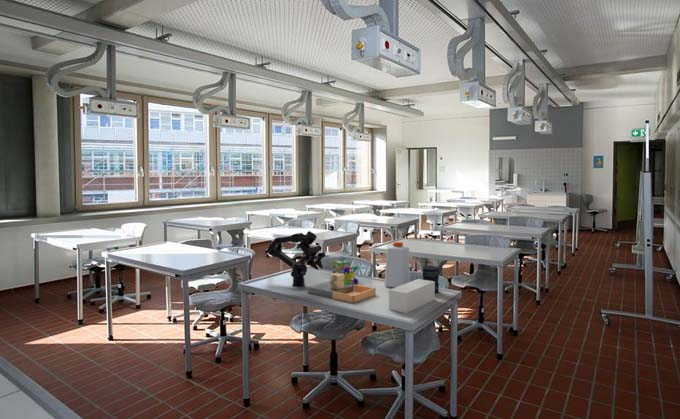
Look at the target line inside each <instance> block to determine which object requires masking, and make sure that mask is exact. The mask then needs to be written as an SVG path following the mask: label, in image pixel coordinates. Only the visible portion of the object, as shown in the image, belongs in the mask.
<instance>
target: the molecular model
mask: <svg viewBox="0 0 680 419" xmlns="http://www.w3.org/2000/svg"><path fill="white" fill-rule="evenodd" d="M349 269H350V270H349ZM358 269H359V267H358V266H357V265H355V266H353V267H350V268H349V267H348V266H346V267H345V268H344V272H343V273H342V274H345V272H347V273H348V274H349V275H344V276H349V278H348V279H346V278H345V277H344V284H348V285H349V283H354V284H358V283H359V280H358V278H356V277H355V272H356V271H357V270H358ZM351 270H352V271H351ZM351 279H352V280H351Z"/></svg>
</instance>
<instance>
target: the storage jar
mask: <svg viewBox="0 0 680 419" xmlns="http://www.w3.org/2000/svg"><path fill="white" fill-rule="evenodd" d="M439 269H440V267H439V266H436V265H435V266H434V265H425V266H422V280H428V281H434V282H435V294H439V288H440V286H439V285H440V283H439V277H440V276H439V274H440V272H439V271H440V270H439Z"/></svg>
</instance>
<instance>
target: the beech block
mask: <svg viewBox="0 0 680 419" xmlns="http://www.w3.org/2000/svg"><path fill="white" fill-rule="evenodd" d="M329 276H330V277H329V281H330V288H334V289H340V288H344V282H345V281H344V274H340V273H334V274H333V273H331V274H330V275H329Z"/></svg>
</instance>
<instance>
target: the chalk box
mask: <svg viewBox="0 0 680 419" xmlns="http://www.w3.org/2000/svg"><path fill="white" fill-rule="evenodd" d="M346 266H348V267H349V268H351V262H350V261H347V260H345V257H344V256H340V258H339V260H334V261H332V274H334V273H340V274H342V273H343V272H344V268H345V267H346ZM349 270H350V271H351V269H349ZM344 275H349V274H348V273H347V272H345V274H344ZM344 277H345V278H346V279H348V278H349V276H344Z"/></svg>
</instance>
